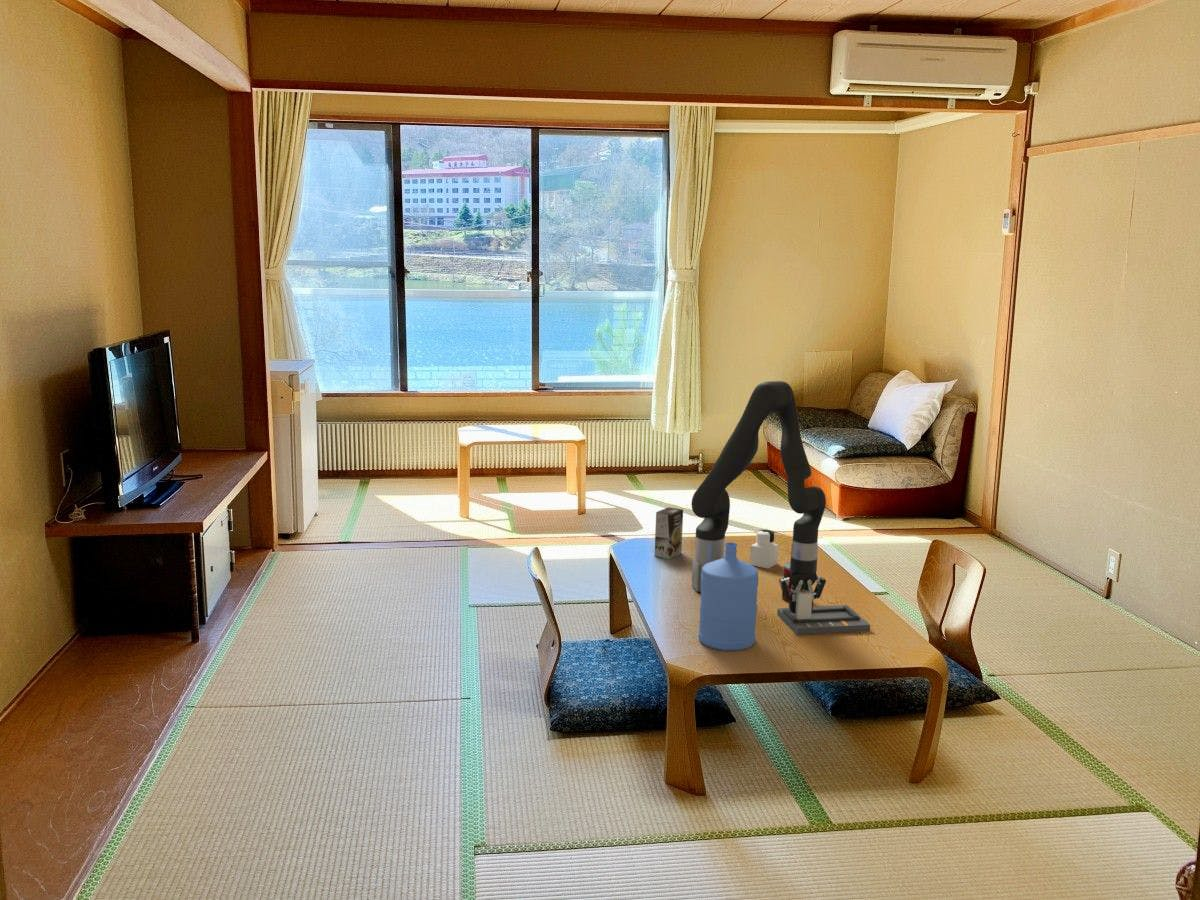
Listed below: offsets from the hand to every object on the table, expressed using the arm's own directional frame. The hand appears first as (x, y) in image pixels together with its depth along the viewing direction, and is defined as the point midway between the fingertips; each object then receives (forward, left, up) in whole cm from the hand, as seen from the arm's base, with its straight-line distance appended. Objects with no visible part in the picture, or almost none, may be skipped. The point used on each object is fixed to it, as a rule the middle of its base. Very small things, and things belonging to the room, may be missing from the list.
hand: (800, 611), depth 293 cm
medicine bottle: (+8, +54, -4) cm, 55 cm away
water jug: (-25, -9, -4) cm, 27 cm away
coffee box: (-22, +69, -4) cm, 73 cm away
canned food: (+6, +20, -4) cm, 21 cm away
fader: (0, 0, -1) cm, 1 cm away
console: (+7, 0, -4) cm, 8 cm away
